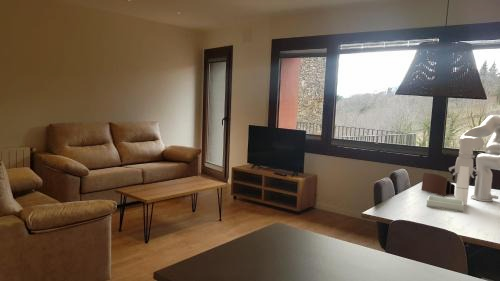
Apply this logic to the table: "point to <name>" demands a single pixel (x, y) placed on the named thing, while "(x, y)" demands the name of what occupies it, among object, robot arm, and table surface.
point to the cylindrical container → (462, 184)
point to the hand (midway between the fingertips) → (462, 182)
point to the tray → (445, 203)
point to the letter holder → (437, 185)
